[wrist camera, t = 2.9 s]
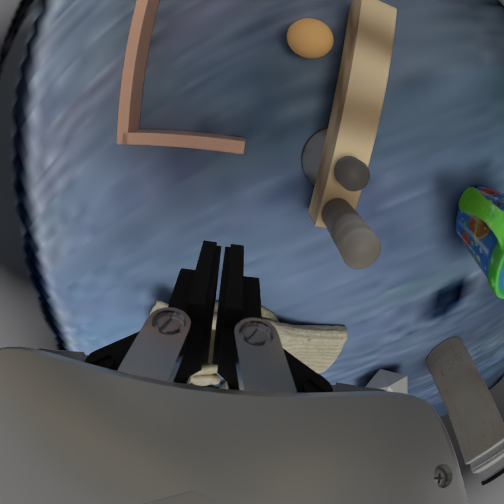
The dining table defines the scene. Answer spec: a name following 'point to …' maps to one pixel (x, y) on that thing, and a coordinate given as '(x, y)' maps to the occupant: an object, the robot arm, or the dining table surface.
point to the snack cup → (484, 232)
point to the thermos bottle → (469, 408)
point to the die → (389, 381)
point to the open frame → (134, 89)
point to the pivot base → (313, 155)
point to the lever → (354, 131)
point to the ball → (310, 38)
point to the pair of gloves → (283, 345)
